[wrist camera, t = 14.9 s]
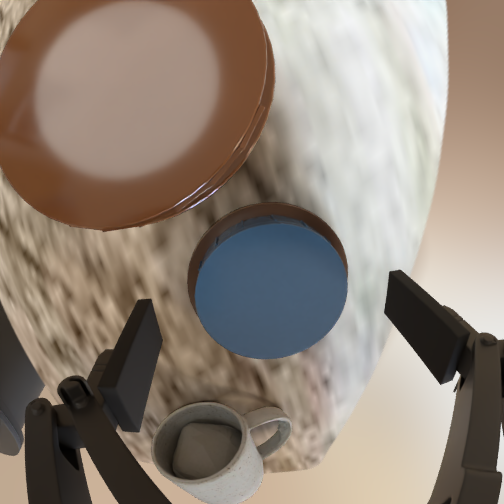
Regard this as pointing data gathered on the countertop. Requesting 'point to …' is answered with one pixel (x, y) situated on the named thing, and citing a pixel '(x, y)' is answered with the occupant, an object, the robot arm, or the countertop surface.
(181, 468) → the ceramic mug
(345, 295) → the jar lid
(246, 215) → the coaster
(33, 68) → the jam jar
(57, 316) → the countertop surface
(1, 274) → the countertop surface
